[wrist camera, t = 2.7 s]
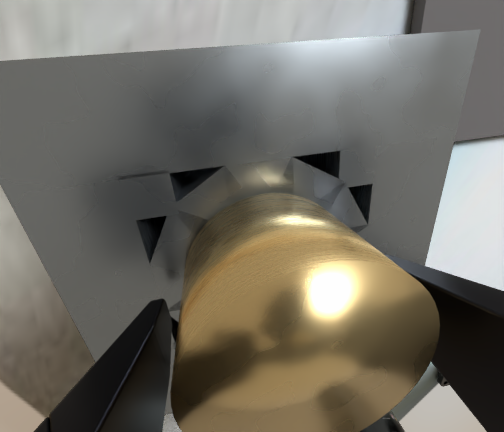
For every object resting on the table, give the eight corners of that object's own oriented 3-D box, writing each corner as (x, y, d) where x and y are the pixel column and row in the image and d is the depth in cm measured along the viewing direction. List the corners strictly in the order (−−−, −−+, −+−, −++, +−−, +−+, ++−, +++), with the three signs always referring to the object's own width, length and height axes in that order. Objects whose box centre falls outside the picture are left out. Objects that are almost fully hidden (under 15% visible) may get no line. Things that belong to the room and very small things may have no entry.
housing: (359, 299, 16) (404, 351, 13) (147, 346, 15) (128, 424, 11) (386, 58, 11) (481, 29, 7) (45, 85, 9) (-65, 65, 5)
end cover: (307, 265, 14) (413, 420, 7) (201, 286, 13) (200, 485, 6) (306, 161, 11) (471, 235, 4) (177, 178, 11) (128, 302, 4)
